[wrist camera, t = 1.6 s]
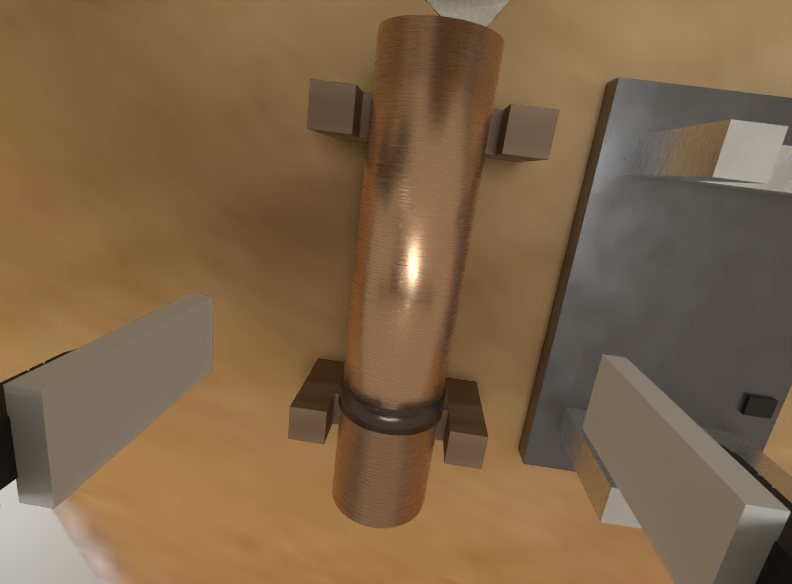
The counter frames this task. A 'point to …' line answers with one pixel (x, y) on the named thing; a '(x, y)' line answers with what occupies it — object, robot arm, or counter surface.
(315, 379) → the walnut rack
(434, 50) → the tube
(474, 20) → the condiment
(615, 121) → the plate
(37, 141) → the counter surface
